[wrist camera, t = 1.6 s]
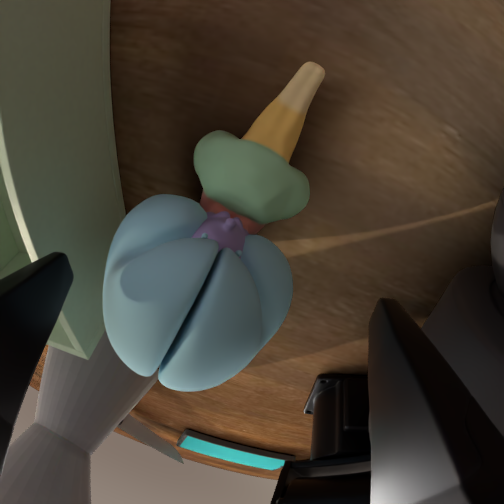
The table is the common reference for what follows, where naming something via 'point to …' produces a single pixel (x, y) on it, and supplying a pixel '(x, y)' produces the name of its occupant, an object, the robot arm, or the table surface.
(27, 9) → the bin
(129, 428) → the kitchen knife
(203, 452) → the smartphone
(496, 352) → the binoculars
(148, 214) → the toy flower bud
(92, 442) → the lamp
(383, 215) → the table surface
